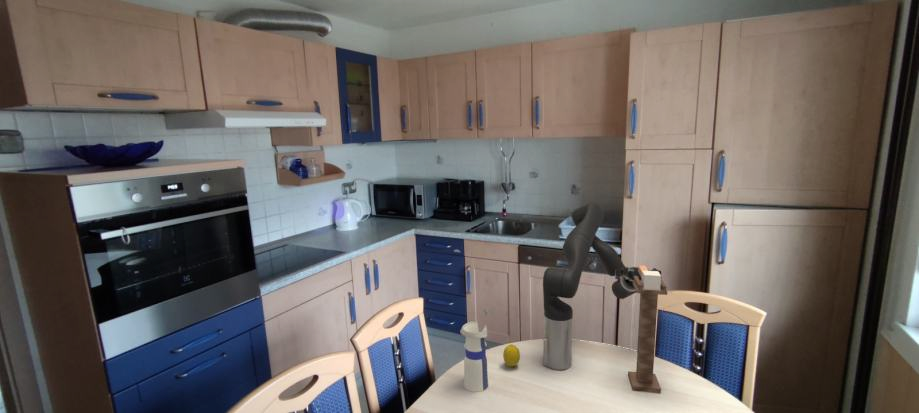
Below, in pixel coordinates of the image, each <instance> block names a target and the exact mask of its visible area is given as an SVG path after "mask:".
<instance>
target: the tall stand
mask: <svg viewBox="0 0 919 413" xmlns="http://www.w3.org/2000/svg"><path fill="white" fill-rule="evenodd" d="M633 285H634V287H635V290H636V294H639V311H638V313H639V314H638V330H637V332H638V333H637V346H636V347H637V351H636V366H635V367H636V370H635V371H633V370H632V371H631V370H630V371H628V372H627V378H628V380H629V381H628V382H629V384H630V387H631V390H632V391H634V392H636V391H637V392H644V393H646V392H647V393H654V394H661V393H662V387H661V385H660V381H659V380H658V377H657V375H656V373H654V364H655V349H656V348H655V347H656V330H657V313H658V300H659V299H658V297H659V295H660V296H661V295H665V296H667V295H668V290H667V289H668V288H667V285H666V284H665V283H664V281H663V278H661V286H660V291H659V290H644V289H643V287H642V284H641V281H640V280H639V278H638V276H634V280H633Z"/></svg>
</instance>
